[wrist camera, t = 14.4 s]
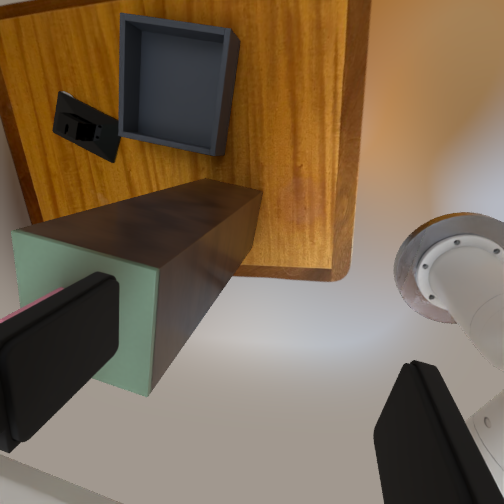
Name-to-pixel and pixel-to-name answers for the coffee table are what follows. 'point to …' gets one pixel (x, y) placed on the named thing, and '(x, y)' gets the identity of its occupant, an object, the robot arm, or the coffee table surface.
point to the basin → (176, 83)
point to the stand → (145, 266)
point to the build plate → (86, 127)
